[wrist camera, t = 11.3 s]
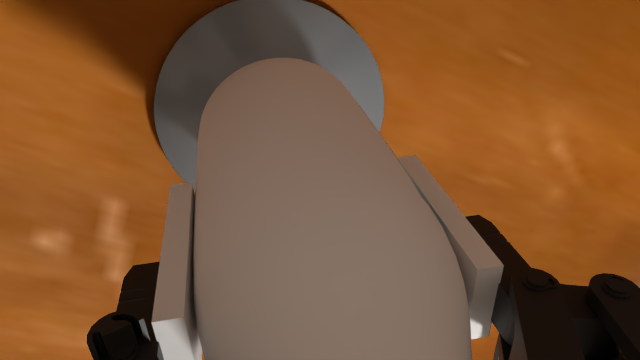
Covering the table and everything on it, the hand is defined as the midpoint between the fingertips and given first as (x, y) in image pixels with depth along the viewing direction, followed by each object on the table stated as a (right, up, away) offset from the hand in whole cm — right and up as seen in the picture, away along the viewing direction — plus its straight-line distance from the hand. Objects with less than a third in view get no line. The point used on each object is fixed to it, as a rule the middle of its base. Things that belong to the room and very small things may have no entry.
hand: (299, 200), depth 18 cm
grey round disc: (-2, +4, +8) cm, 9 cm away
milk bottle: (-1, +3, +5) cm, 6 cm away
